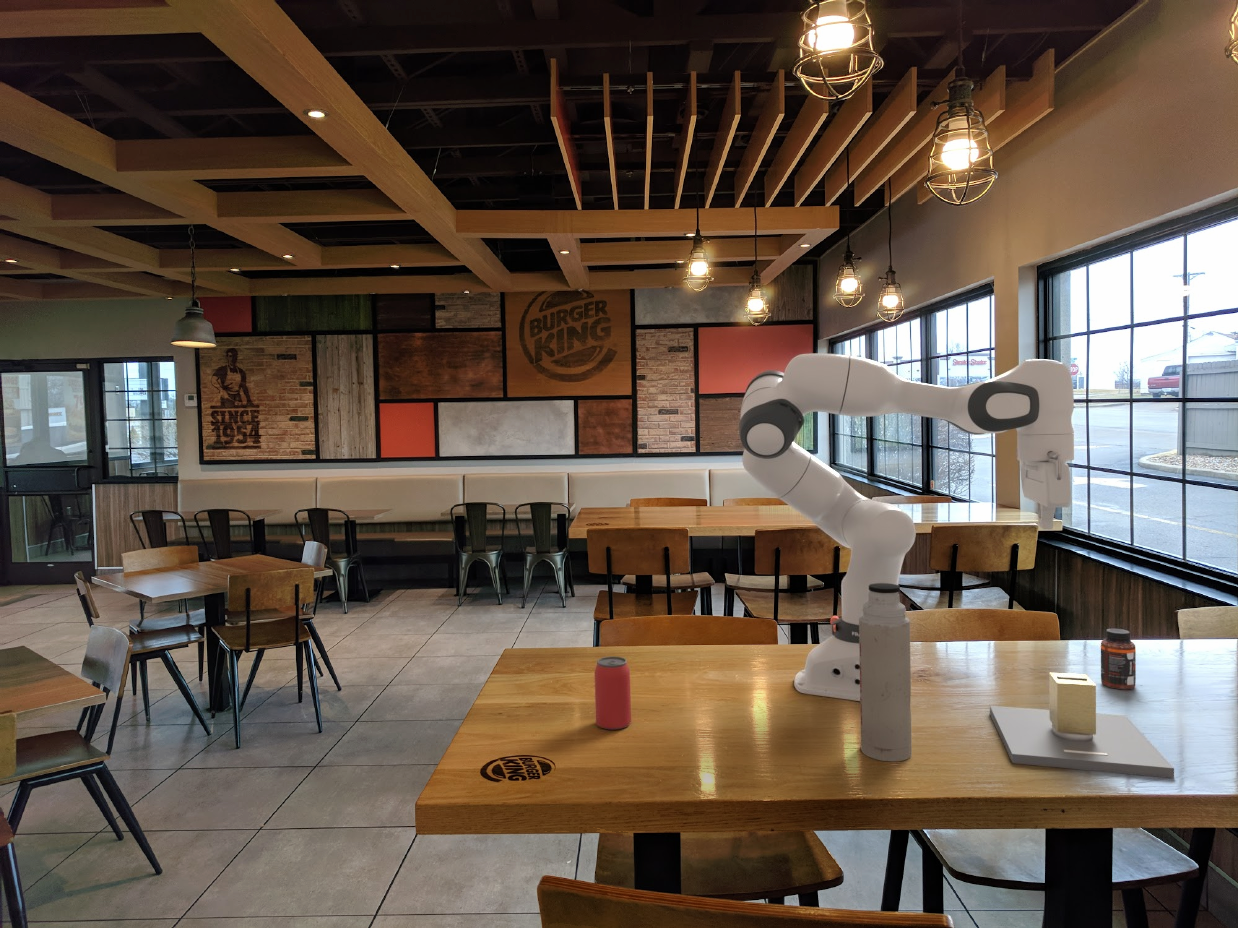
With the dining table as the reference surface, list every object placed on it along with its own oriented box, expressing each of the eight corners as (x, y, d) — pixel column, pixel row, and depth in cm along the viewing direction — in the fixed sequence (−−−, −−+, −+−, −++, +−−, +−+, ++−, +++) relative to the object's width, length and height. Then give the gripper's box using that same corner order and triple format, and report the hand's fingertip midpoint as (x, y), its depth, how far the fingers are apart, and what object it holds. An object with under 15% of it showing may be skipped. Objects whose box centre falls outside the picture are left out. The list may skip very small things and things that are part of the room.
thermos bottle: (853, 753, 127) (850, 586, 126) (871, 738, 133) (869, 578, 132) (901, 765, 122) (899, 591, 121) (918, 749, 128) (916, 583, 127)
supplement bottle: (1141, 691, 153) (1141, 634, 152) (1108, 690, 154) (1108, 634, 153) (1127, 681, 158) (1127, 627, 158) (1095, 680, 160) (1095, 626, 159)
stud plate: (1012, 762, 122) (1011, 704, 122) (989, 713, 143) (989, 663, 143) (1174, 777, 116) (1174, 715, 115) (1125, 723, 137) (1125, 670, 136)
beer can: (600, 732, 139) (598, 667, 139) (592, 720, 145) (590, 657, 145) (635, 728, 141) (633, 663, 140) (625, 715, 147) (624, 654, 147)
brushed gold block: (1057, 731, 127) (1057, 681, 127) (1049, 719, 133) (1049, 671, 132) (1095, 734, 126) (1095, 683, 125) (1086, 721, 131) (1086, 673, 131)
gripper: (1081, 452, 126) (1081, 536, 126) (1051, 448, 145) (1051, 521, 146) (1038, 453, 127) (1039, 535, 128) (1014, 449, 147) (1015, 521, 148)
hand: (1045, 528), depth 137 cm, fingers closed
